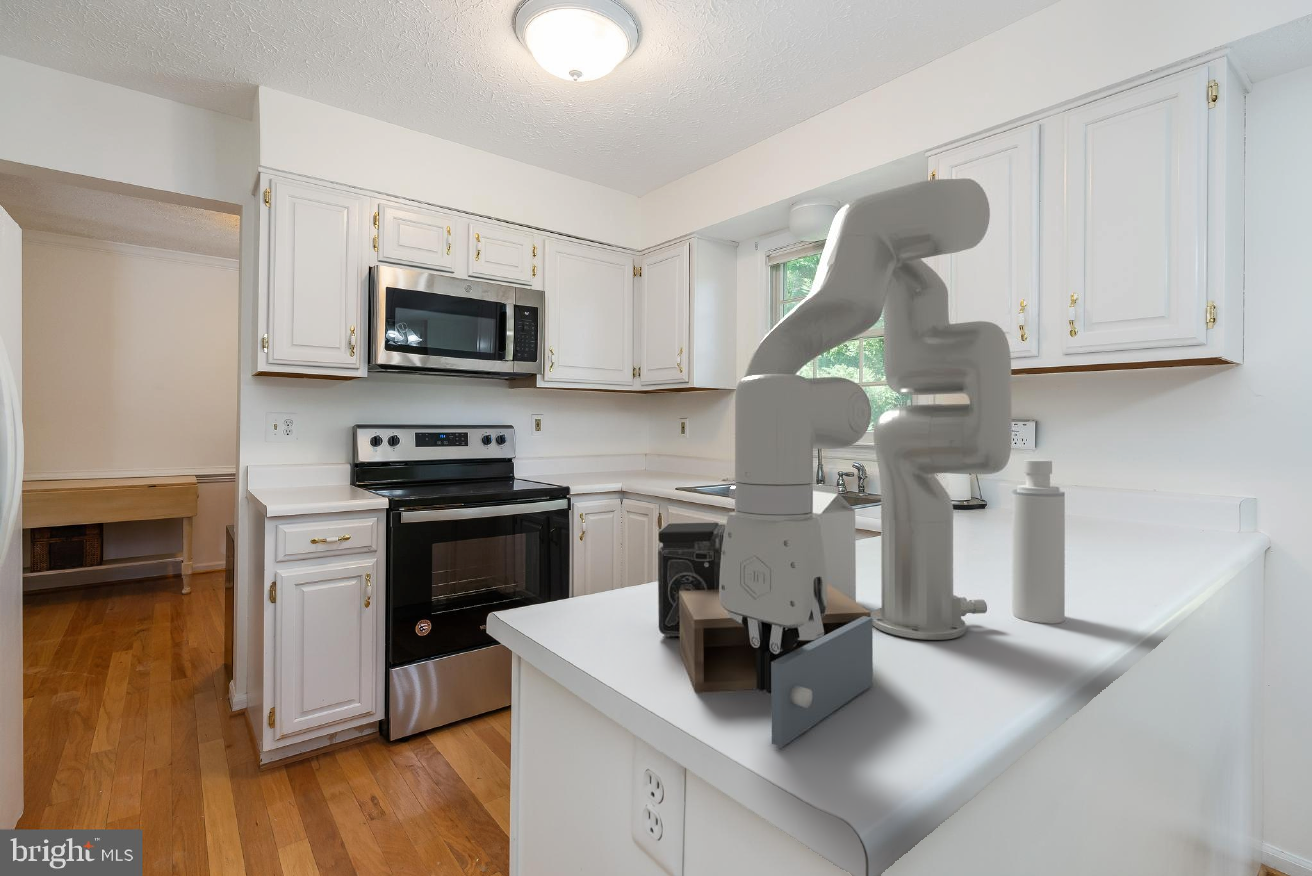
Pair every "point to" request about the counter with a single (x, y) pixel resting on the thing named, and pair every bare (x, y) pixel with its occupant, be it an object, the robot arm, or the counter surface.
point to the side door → (820, 679)
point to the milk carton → (837, 538)
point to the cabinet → (736, 639)
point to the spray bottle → (1038, 546)
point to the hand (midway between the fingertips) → (773, 687)
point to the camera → (686, 567)
